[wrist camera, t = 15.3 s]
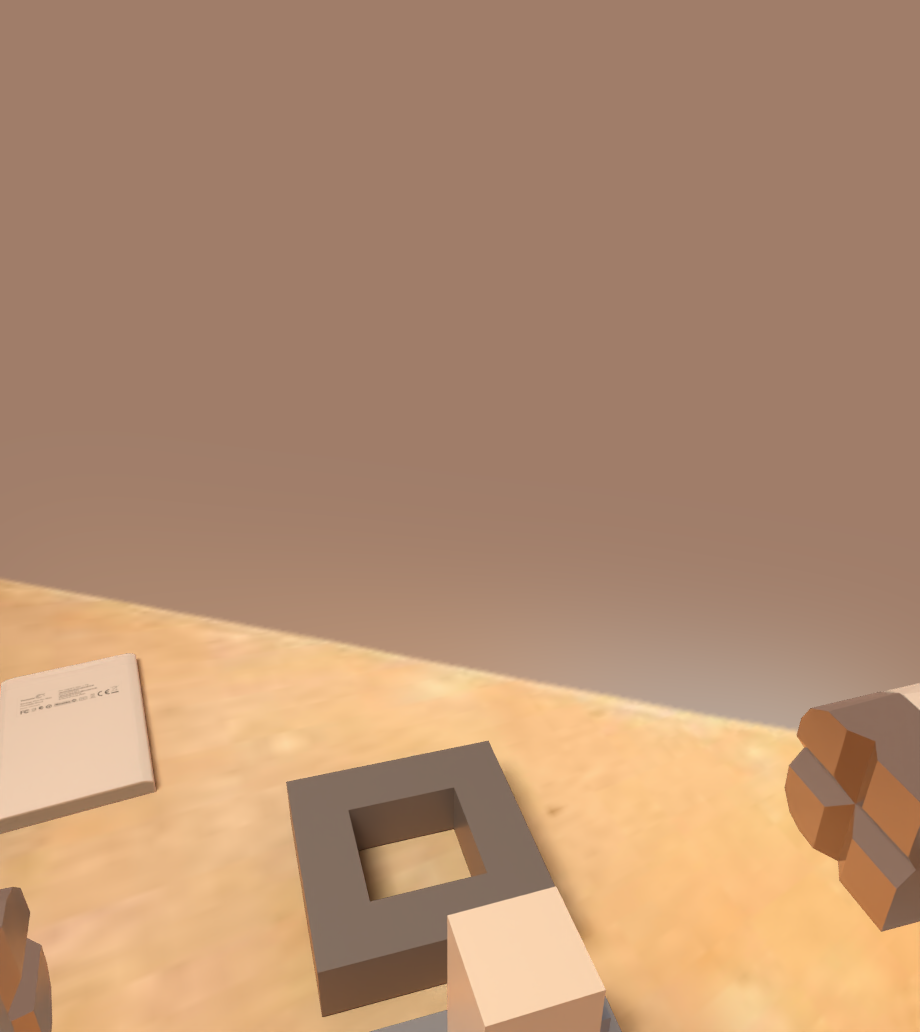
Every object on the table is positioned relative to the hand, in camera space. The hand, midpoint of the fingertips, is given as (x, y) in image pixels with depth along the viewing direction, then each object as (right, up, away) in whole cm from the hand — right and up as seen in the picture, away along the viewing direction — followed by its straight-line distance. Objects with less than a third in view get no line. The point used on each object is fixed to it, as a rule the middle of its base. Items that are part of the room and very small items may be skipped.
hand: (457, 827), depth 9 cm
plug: (+2, -22, +23) cm, 31 cm away
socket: (-2, -15, +35) cm, 38 cm away
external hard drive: (-23, -11, +44) cm, 51 cm away
